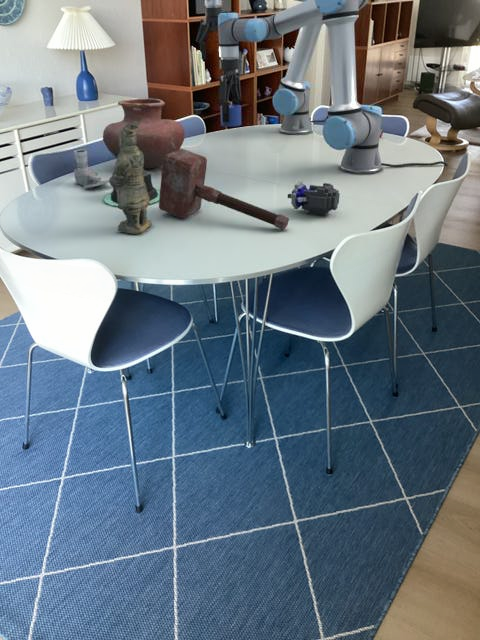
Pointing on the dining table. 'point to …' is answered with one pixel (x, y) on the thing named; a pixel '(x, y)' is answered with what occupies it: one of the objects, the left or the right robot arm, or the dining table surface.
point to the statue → (131, 182)
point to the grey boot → (86, 171)
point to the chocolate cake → (152, 192)
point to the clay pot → (146, 131)
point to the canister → (232, 116)
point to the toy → (315, 198)
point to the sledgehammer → (200, 190)
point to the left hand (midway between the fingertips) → (215, 59)
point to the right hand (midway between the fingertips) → (231, 119)
